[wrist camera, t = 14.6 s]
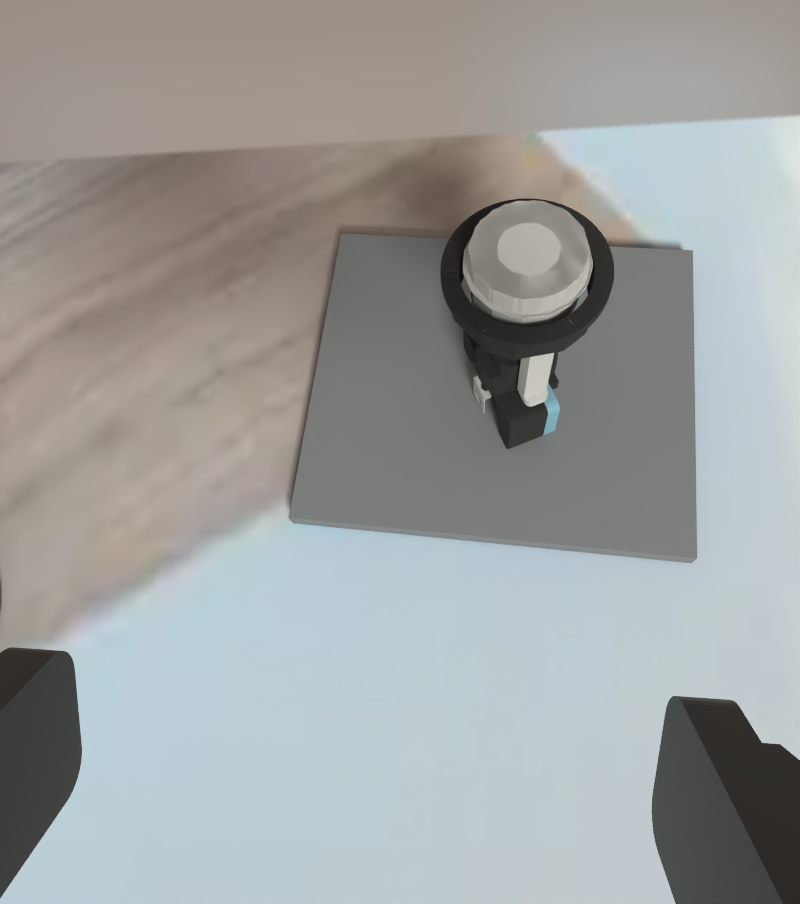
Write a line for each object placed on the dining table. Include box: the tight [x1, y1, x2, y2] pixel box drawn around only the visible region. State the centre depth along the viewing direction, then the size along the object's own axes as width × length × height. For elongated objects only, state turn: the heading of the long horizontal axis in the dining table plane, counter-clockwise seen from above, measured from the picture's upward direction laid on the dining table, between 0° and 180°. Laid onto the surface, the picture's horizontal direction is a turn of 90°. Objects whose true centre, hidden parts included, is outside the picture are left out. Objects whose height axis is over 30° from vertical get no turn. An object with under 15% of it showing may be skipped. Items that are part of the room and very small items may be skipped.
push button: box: [440, 199, 614, 449], centre depth 27 cm, size 7×5×10 cm
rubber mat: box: [289, 233, 697, 563], centre depth 32 cm, size 16×14×1 cm
